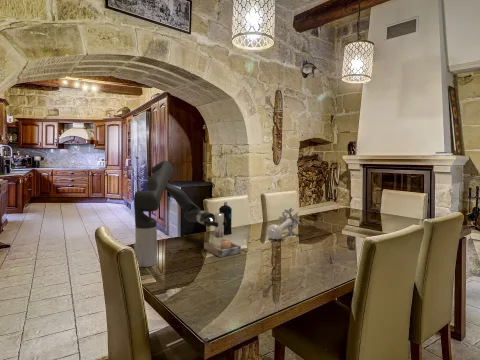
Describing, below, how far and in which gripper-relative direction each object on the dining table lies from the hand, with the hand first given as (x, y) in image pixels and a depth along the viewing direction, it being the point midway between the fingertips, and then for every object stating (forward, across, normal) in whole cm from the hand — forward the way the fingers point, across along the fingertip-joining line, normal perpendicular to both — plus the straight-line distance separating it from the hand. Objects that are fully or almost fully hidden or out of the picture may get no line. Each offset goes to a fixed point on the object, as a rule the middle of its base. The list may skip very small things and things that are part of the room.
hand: (221, 224), depth 165 cm
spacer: (+4, 0, +14) cm, 14 cm away
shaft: (-3, 0, +7) cm, 7 cm away
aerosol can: (-29, +21, +14) cm, 39 cm away
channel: (+1, 0, +14) cm, 14 cm away
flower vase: (-3, +47, +14) cm, 49 cm away
